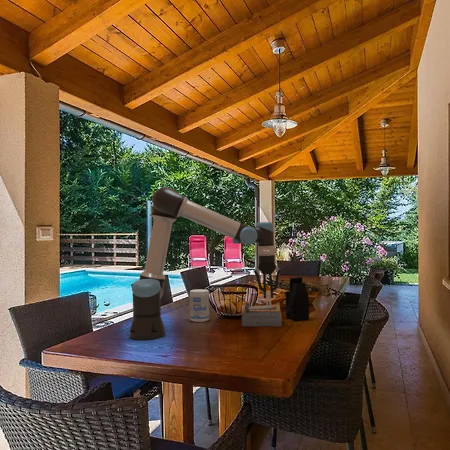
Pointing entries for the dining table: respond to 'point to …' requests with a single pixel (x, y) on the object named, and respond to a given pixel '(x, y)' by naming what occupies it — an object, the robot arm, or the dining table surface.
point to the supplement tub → (199, 305)
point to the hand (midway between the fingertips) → (268, 305)
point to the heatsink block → (262, 316)
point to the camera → (297, 300)
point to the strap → (262, 307)
